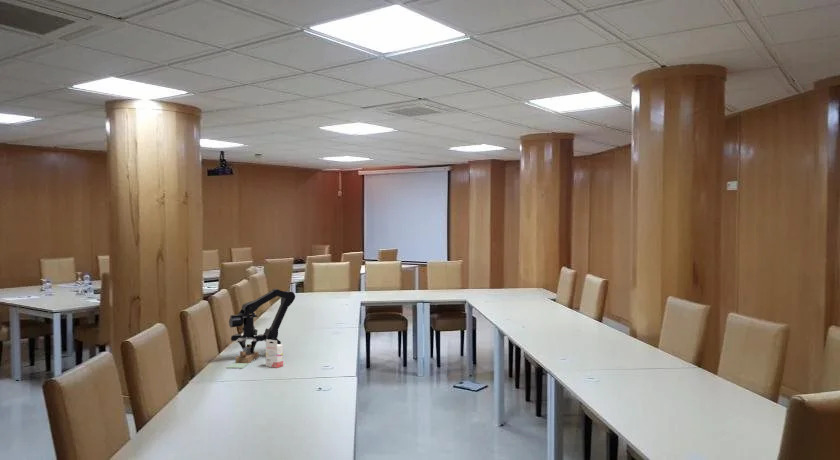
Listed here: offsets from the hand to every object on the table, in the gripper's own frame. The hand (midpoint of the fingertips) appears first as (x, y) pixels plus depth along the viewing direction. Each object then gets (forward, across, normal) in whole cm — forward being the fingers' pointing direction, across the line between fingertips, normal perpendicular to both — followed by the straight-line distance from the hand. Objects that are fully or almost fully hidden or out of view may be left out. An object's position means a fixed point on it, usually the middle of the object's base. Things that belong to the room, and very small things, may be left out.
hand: (248, 352), depth 326 cm
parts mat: (+4, 0, +16) cm, 16 cm away
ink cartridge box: (+4, -20, +14) cm, 25 cm away
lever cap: (+1, 0, 0) cm, 1 cm away
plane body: (+4, 0, +2) cm, 4 cm away
